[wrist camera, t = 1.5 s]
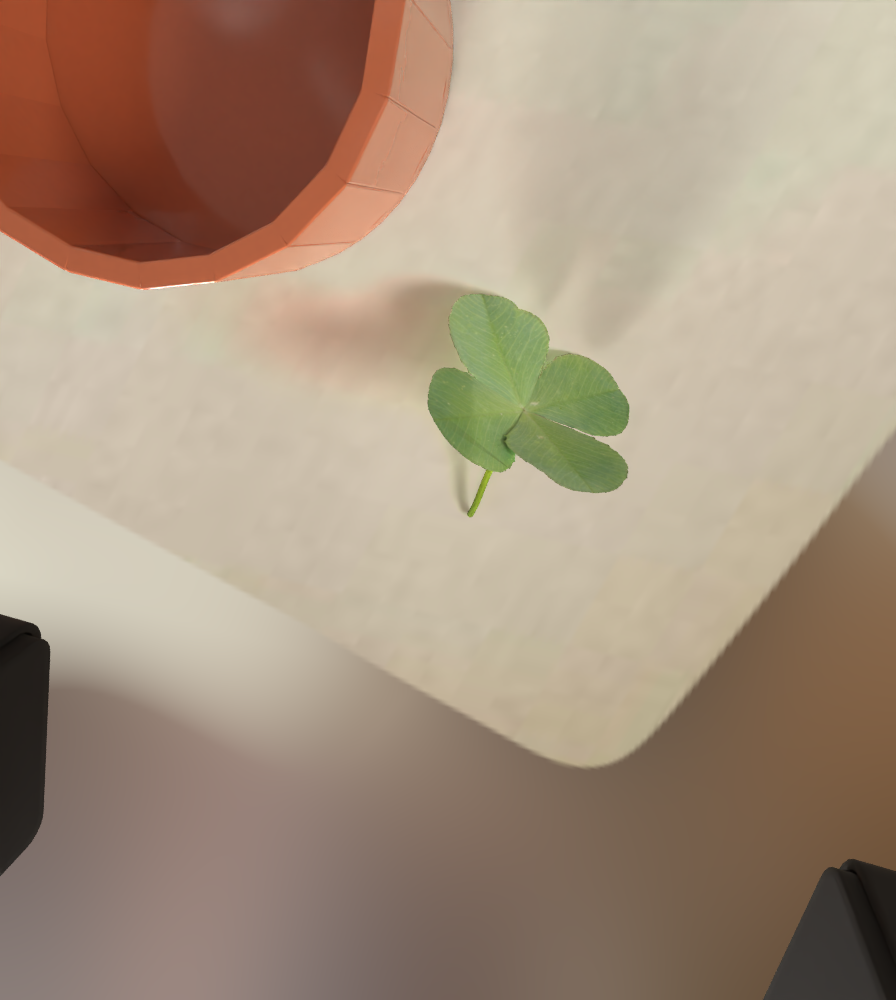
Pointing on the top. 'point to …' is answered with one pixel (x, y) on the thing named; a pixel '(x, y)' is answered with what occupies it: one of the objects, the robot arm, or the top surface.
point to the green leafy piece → (526, 400)
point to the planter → (212, 130)
